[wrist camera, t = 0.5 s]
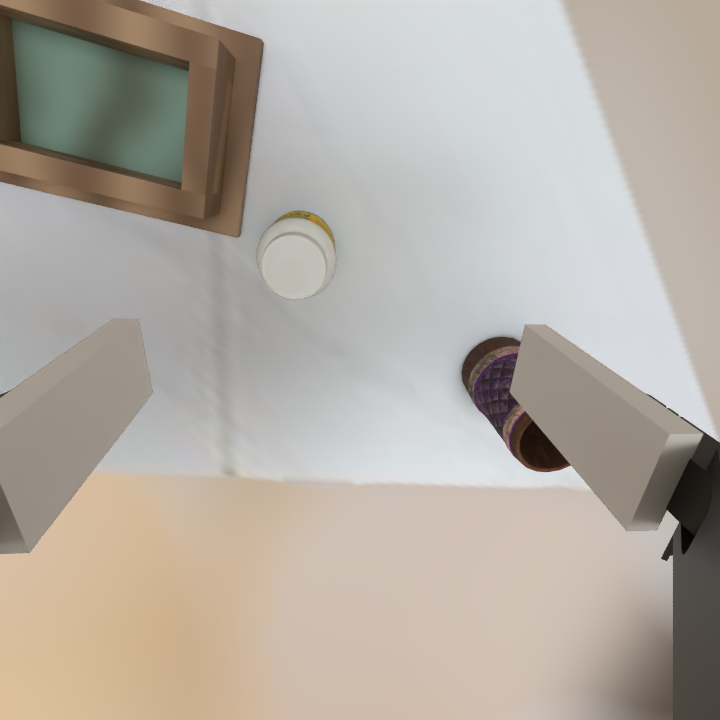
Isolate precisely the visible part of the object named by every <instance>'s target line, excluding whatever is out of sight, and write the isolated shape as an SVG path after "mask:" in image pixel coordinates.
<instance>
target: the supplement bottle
mask: <svg viewBox="0 0 720 720" xmlns="http://www.w3.org/2000/svg"><path fill="white" fill-rule="evenodd" d="M257 265H258V269H259V272H260V274H261V276H262V278H263V279H264V281H265V282H266V284H267V285H268V287H269V288H270V289H271V290H272V291H273V292H274V293H276V294H277V295H279V296H281V297H283V298H286V299H291V300H299V299H304V298H307V297H310V296H313V295H315V294H317V293H319V292H320V291H321V290H323V289H324V288H325V287H326V286H327V285H328V283H329V282H330V280H331V278H332V277H333V274H334V271H335V267H336V252H335V246H334V238H333V235H332V232H331V230H330V228H329V226H328V225H327V224H326V223H325V221H324V220H322V219H321V218H320V217H318V216H317V215H315V214H313V213H310V212H306V211H293V212H289V213H287V214H285V215H283V216H282V217H280V218H279V219H278V220H277V221H276V222H275V223H274V224H272V225H271V226H270V227H269V228H268V229H267V230H266V231H265V233H264V234H263V236H262V237H261V239H260V242H259V244H258V248H257Z"/></svg>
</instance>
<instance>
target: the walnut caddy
mask: <svg viewBox="0 0 720 720" xmlns="http://www.w3.org/2000/svg"><path fill="white" fill-rule="evenodd" d="M263 44H264V43H263V41H262V39H259V38H256V37H253V36H250V35H247V34H243V33H240V32H237V31H234V30H231V29H228V28H225V27H221V26H218V25H215V24H212V23H209V22H206V21H203V20H199V19H196V18H193V17H190V16H187V15H184V14H181V13H177V12H174V11H171V10H168V9H165V8H162V7H159V6H155V5H152V4H149V3H146V2H143V1H140V0H0V182H4V183H8V184H13V185H17V186H21V187H25V188H30V189H34V190H38V191H42V192H47V193H51V194H55V195H59V196H63V197H68V198H72V199H76V200H80V201H85V202H89V203H93V204H97V205H102V206H106V207H110V208H114V209H118V210H123V211H127V212H131V213H135V214H140V215H144V216H148V217H152V218H157V219H161V220H165V221H169V222H173V223H178V224H182V225H186V226H190V227H195V228H199V229H203V230H207V231H212V232H216V233H220V234H224V235H229V236H233V237H239V236H240V231H241V223H242V214H243V206H244V198H245V190H246V182H247V174H248V166H249V158H250V150H251V142H252V133H253V125H254V117H255V109H256V101H257V93H258V85H259V77H260V69H261V61H262V52H263Z"/></svg>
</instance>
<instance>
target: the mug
mask: <svg viewBox="0 0 720 720" xmlns="http://www.w3.org/2000/svg"><path fill="white" fill-rule="evenodd" d="M520 344H521V342H519V341H517V340H515V339H512V338H504V337H501V338H496V339H490V340H488V341H486V342H484V343H482V344H480V345H479V346H478V347H477V348H476V349H474V350H473V351H472V352H471V353H470V355H469V356H468V358H467V359H466V361H465V363H464V367H463V371H462V377H463V383H464V385H465V387H466V390H467V391H468V392H469V394H470V397H471V399H472V401H473V403H474V404H475V405H476V407H477V408H478V410H479V411H480V412H481V413H483V414H484V415H485V416H486V417H487V419H488V420H489V421H490V423H491V424H492V425H493V427H494V428H495V430H496V431H497V432H498V434H499V435H500V436H501V438H502V439H503V441H504V442H505V444H506V446H507V448H508V449H509V450H510V452H511V453H512V454H513V456H514V457H515V458H516V459H518V460H519V461H520V462H521V463H522V464H523V465H524V466H525V467H527V468H529V469H532V470H534V471H539V472H551V471H557V470H561V469H563V468H566V467H568V466H570V463H569V462H568V461H567V460H566V459H565V457H564V456H563V455H562V454H561V453H560V451H559V450H558V449H557V448H556V447H555V446H554V444H553V443H552V442H551V441H550V440H549V438H548V437H547V436H546V435H545V434H544V433H543V431H542V430H541V429H540V428H539V427H538V425H537V424H536V423H535V422H534V421H533V419H532V418H531V417H530V416H529V415H528V414H527V412H526V411H525V410H524V409H523V408H522V406H521V405H520V404H519V403H518V402H517V401H516V399H515V398H514V397H513V396H512V395H511V393H510V388H511V383H512V379H513V375H514V370H515V366H516V362H517V357H518V353H519V348H520Z"/></svg>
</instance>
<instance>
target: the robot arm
mask: <svg viewBox="0 0 720 720" xmlns="http://www.w3.org/2000/svg"><path fill="white" fill-rule="evenodd" d="M152 393H153V390H152V385H151V380H150V375H149V370H148V365H147V360H146V355H145V350H144V344H143V339H142V334H141V329H140V324H139V319H112V320H111V321H109V322H108V323H107V324H105V325H104V326H102V327H101V328H99V329H98V330H97V331H95V332H94V333H92V334H91V335H89V336H88V337H87V338H85V339H84V340H82V341H81V342H79V343H78V344H77V345H75V346H74V347H72V348H71V349H69V350H68V351H67V352H65V353H64V354H62V355H61V356H59V357H58V358H57V359H55V360H54V361H52V362H51V363H49V364H48V365H47V366H45V367H44V368H42V369H41V370H39V371H38V372H37V373H35V374H34V375H32V376H31V377H29V378H28V379H27V380H25V381H24V382H22V383H21V384H19V385H18V386H17V387H15V388H14V389H12V390H10V391H8V392H6V393H3V394H1V395H0V554H12V553H30V552H31V550H32V549H33V548H34V547H35V545H36V544H37V543H38V541H39V540H40V539H41V537H42V536H43V535H44V534H45V532H46V531H47V530H48V528H49V527H50V526H51V524H52V523H53V522H54V520H55V519H56V518H57V517H58V515H59V514H60V513H61V511H62V510H63V509H64V507H65V506H66V505H67V504H68V502H69V501H70V500H71V498H72V497H73V496H74V495H75V493H76V492H77V491H78V489H79V488H80V487H81V486H82V484H83V483H84V482H85V480H86V479H87V477H88V476H89V475H90V474H91V473H92V471H93V470H94V469H95V467H96V466H97V465H98V464H99V462H100V461H101V460H102V458H103V457H104V456H105V454H106V453H107V452H108V451H109V449H110V448H111V447H112V445H113V444H114V443H115V441H116V440H117V439H118V438H119V436H120V435H121V434H122V432H123V431H124V430H125V428H126V427H127V426H128V425H129V423H130V422H131V421H132V419H133V418H134V417H135V416H136V414H137V413H138V412H139V410H140V409H141V408H142V406H143V405H144V404H145V403H146V401H147V400H148V399H149V397H150V396H151V395H152ZM510 393H511V395H512V396H513V397H514V398H515V399H516V401H517V402H518V403H519V404H520V405H521V406H522V408H523V409H524V410H525V411H526V412H527V414H528V415H529V416H530V417H531V418H532V419H533V421H534V422H535V423H536V424H537V425H538V427H539V428H540V429H541V430H542V431H543V433H544V434H545V435H546V436H547V437H548V438H549V440H550V441H551V442H552V443H553V444H554V446H555V447H556V448H557V449H558V450H559V451H560V453H561V454H562V455H563V456H564V457H565V459H566V460H567V461H568V462H569V463H570V465H571V466H572V467H573V468H574V469H575V470H576V472H577V473H578V474H579V475H580V476H581V478H582V479H583V480H584V481H585V482H586V483H587V485H588V486H589V487H590V488H591V489H592V491H593V492H594V493H595V494H596V495H597V496H598V498H599V499H600V500H601V501H602V502H603V504H604V505H605V506H606V507H607V508H608V510H609V511H610V512H611V513H612V514H613V515H614V517H615V518H616V519H617V520H618V521H619V523H620V524H621V525H622V526H623V527H624V528H625V530H626V531H649V530H657V529H658V527H659V525H660V523H661V521H662V519H663V517H664V515H665V513H666V511H667V510H668V511H669V512H670V513H671V514H672V515H673V516H674V517H675V518H676V519H677V520H678V521H679V524H678V526H677V528H676V530H675V532H674V534H673V536H672V538H671V540H670V542H669V544H668V546H667V547H666V549H665V551H664V554H663V556H662V558H661V559H663V560H665V561H667V560H668V558H669V556H671V555H673V720H720V443H719V442H718V441H716V440H715V439H714V438H712V437H711V436H709V435H708V434H706V433H705V432H703V431H702V430H700V429H699V428H697V427H696V426H694V425H693V424H692V423H690V422H689V421H687V420H686V419H684V418H683V417H679V415H678V414H677V413H675V412H674V411H673V410H671V409H670V408H666V406H665V405H664V404H662V403H661V402H659V401H658V400H656V399H655V398H654V397H652V396H650V395H648V394H646V393H644V392H642V391H641V390H639V389H638V388H637V387H635V386H634V385H632V384H631V383H629V382H628V381H626V380H625V379H623V378H622V377H621V376H619V375H618V374H616V373H615V372H613V371H612V370H610V369H609V368H608V367H606V366H605V365H603V364H602V363H600V362H599V361H597V360H596V359H594V358H593V357H592V356H590V355H589V354H587V353H586V352H584V351H583V350H581V349H580V348H578V347H577V346H576V345H574V344H573V343H571V342H570V341H568V340H567V339H565V338H564V337H563V336H561V335H560V334H558V333H557V332H555V331H554V330H552V329H551V328H549V327H548V326H547V325H526V324H525V327H524V331H523V335H522V340H521V344H520V348H519V353H518V357H517V362H516V366H515V370H514V375H513V379H512V383H511V388H510Z"/></svg>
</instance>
